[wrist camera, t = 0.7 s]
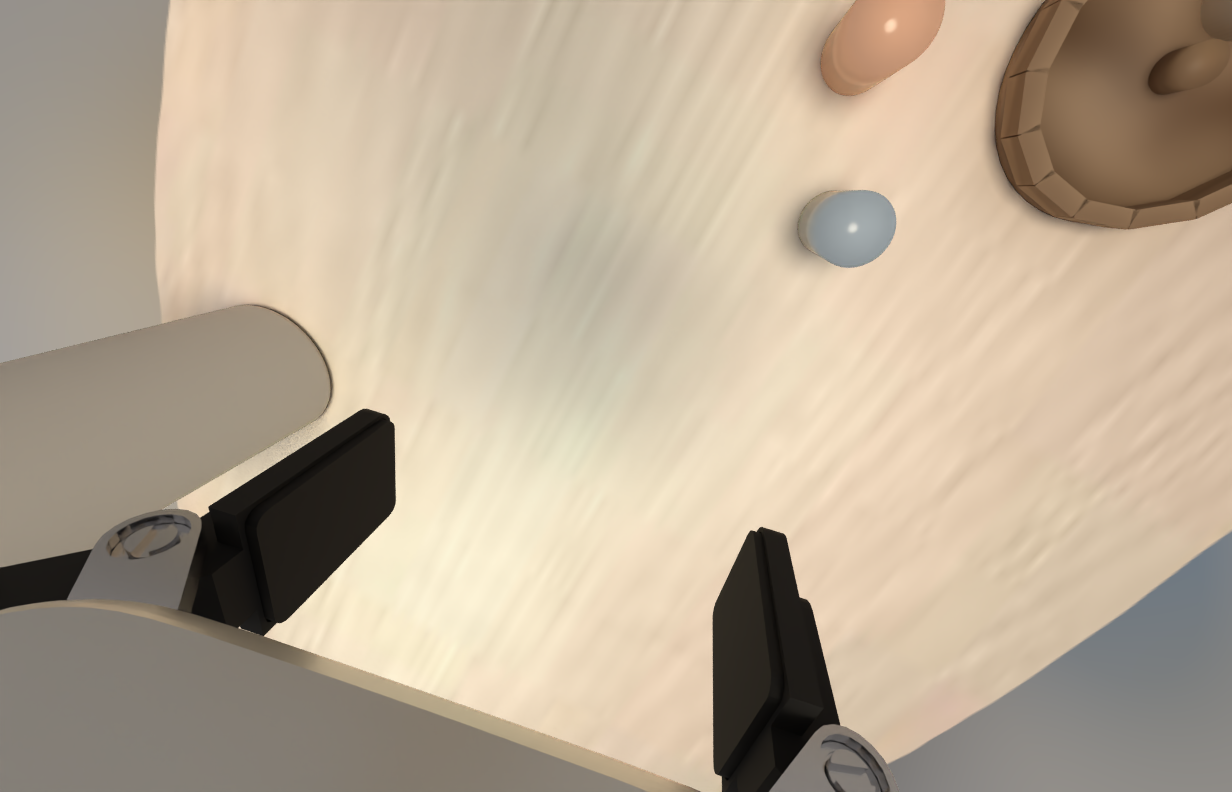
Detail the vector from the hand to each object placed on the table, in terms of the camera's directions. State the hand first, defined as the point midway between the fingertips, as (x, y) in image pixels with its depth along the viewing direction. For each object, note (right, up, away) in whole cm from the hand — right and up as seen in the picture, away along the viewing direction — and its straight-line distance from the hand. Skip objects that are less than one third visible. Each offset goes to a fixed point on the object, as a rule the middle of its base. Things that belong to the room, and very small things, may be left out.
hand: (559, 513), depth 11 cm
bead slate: (+16, +15, +19) cm, 28 cm away
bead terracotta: (+16, +23, +15) cm, 31 cm away
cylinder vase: (-32, +6, +33) cm, 46 cm away
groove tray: (+31, +20, +13) cm, 39 cm away
